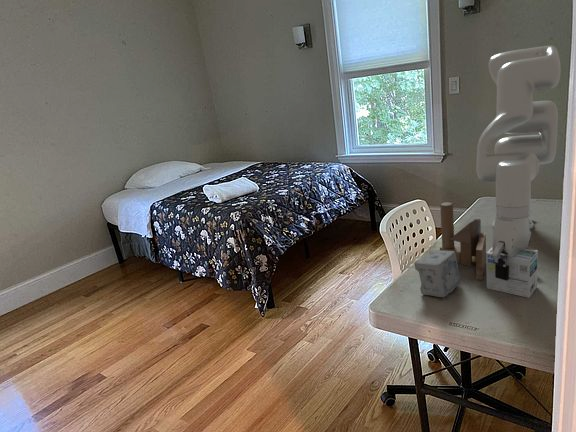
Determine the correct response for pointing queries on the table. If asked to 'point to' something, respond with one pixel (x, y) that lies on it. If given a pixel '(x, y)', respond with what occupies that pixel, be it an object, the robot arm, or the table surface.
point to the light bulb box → (515, 273)
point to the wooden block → (458, 236)
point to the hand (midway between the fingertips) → (511, 271)
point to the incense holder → (438, 273)
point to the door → (480, 256)
